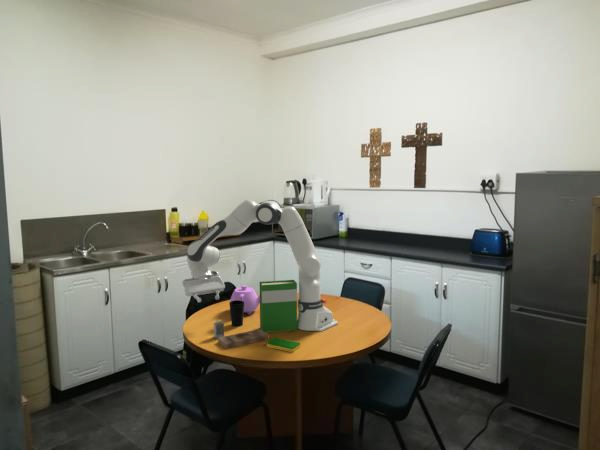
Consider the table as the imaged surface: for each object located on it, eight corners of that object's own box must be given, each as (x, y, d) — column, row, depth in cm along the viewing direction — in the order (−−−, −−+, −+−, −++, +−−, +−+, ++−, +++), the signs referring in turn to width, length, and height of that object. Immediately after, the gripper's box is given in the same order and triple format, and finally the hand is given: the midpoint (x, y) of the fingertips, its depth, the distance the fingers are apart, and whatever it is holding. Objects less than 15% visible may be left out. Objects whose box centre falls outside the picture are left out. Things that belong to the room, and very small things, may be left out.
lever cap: (221, 335, 224) (221, 319, 223) (224, 337, 222) (223, 321, 221) (214, 336, 222) (213, 321, 221) (216, 338, 220) (215, 322, 219)
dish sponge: (274, 342, 217) (274, 337, 217) (300, 347, 210) (300, 342, 210) (266, 347, 211) (266, 342, 210) (292, 353, 204) (292, 347, 204)
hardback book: (262, 332, 228) (261, 285, 225) (260, 327, 235) (259, 281, 232) (297, 329, 232) (296, 283, 229) (293, 324, 239) (293, 279, 236)
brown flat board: (260, 333, 227) (260, 328, 227) (268, 339, 219) (268, 334, 219) (218, 342, 215) (218, 337, 215) (226, 348, 208) (225, 343, 207)
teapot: (263, 318, 249) (263, 291, 247) (226, 318, 250) (226, 291, 248) (266, 307, 269) (266, 282, 267) (232, 307, 269) (232, 282, 267)
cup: (230, 328, 235) (230, 305, 233) (228, 323, 242) (228, 300, 240) (245, 326, 237) (245, 304, 235) (243, 321, 244) (243, 299, 242)
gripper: (182, 276, 229) (190, 300, 222) (221, 271, 240) (229, 294, 233) (180, 283, 233) (187, 306, 226) (218, 278, 244) (225, 300, 237)
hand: (208, 300), depth 230 cm, fingers open, 8 cm apart
